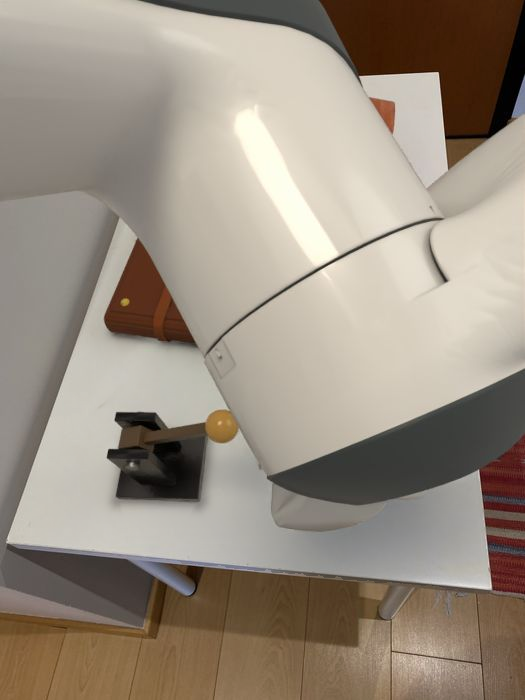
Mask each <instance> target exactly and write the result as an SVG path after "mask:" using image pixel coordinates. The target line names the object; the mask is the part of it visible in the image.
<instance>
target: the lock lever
mask: <svg viewBox="0 0 525 700" xmlns="http://www.w3.org/2000/svg"><path fill="white" fill-rule="evenodd" d="M168 428H169V429H163V430H157V431H152V430H150V429H148V428H145V427H143V426H141V425H140V426H135V427H129V428H124V429H122V428H121V430H120V434H119V435H120V436H119V441H118V445H117V446H118V447H117V449H144V450H150V451H151V452H153V449H154V444H159V443H165V442H172V441H178V440H184V439H191V438H197V437H203V436H207V438H209V439H210V440H211V441H212V442H214V443H216V444H228V443H229V442H231V441H233V440H234V439H235V438H236V437H237V435H238V433H239V431H240V429H239V427H238V425H237V424H236V422H235V420H234V418H233V416H232V414H231V413H230V411H229V409H228V410H227V409H216V410H214V411H212V412H211V413H210V414H209V415H208V416H207V418H206V420H205V421H203V422H197V423H192V424H187V425H181V426H176V427H168Z"/></svg>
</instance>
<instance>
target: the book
mask: <svg viewBox="0 0 525 700" xmlns="http://www.w3.org/2000/svg"><path fill="white" fill-rule="evenodd" d="M103 322H104V325H105V328H106V329H107V330H108V332H110V333H113V334H120V335H126V336H127V335H129V336H135V337H140V338H141V337H142V338H149V339H156V340H157V341H159V342H163V343H170V342H177V343H178V342H179V343H185V344H192V345H197V344H196V342H195V340H194V338H193V336H192V334H191V333H190V331H189V329H188V327H187V325H186V323H185V321H184V319H183V317H182V315H181V314H180V312H179V310H178V308H177V306H176V304H175V302H174V300H173V298H172V296H171V295H170V293H169V291H168V289H167V287H166V285H165V283H164V281H163V279H162V278H161V276H160V274H159V272H158V270H157V268H156V266H155V264H154V263H153V261H152V259H151V257H150V255H149V253H148V252H147V250H146V249H145V247H144V246H143V244H142V243H141V241H140V240H139V239H138V237H136V240H135V243H134V245H133V247H132V250H131V251H130V253H129V257H128V259H127V262H126V263H125V266H124V268H123V271H122V273H121V275H120V278H119V280H118V282H117V285H116V287H115V290H114V292H113V294H112V297H111V299H110V301H109V303H108V306H107V308H106V311H105V313H104V315H103Z"/></svg>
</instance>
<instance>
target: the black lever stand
mask: <svg viewBox="0 0 525 700" xmlns="http://www.w3.org/2000/svg"><path fill="white" fill-rule="evenodd" d="M114 422H115V423H116V424H117V425H118V426H119V427H120V428H121V430H122V429H124V428H129V427H135V426H140V425H141V426H143V427H145V428H148V429H150V430H152V431H157V430H163V429H169V428H170V427H168V426H167V424H166V423H165V422H164V420H162V418H161V417H160V416H159V414H158V412H155V411H153V412H152V411H151V412H149V411H147V412H146V411H116V412H115V415H114ZM207 443H208V436H203V437H197V438H191V439H184V440H178V441H172V442H165V443H159V444H154V449H153V452H151V451H150V450H144V449H118V448H108V449H107V453H106V459H107V460H108V461H109V462H110V463H112V464H113V465H115V466H116V467H117V468H118V469H119V470H120V471H119V475H118V476H119V477H118V481H117V487H116V492H115V498H117V499H119V500H141V501H142V500H143V501H168V502H170V501H172V502H199V503H200V502H201V498H202V497H201V495H202V486H203V478H204V471H205V461H206V453H207V452H206V451H207Z"/></svg>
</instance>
